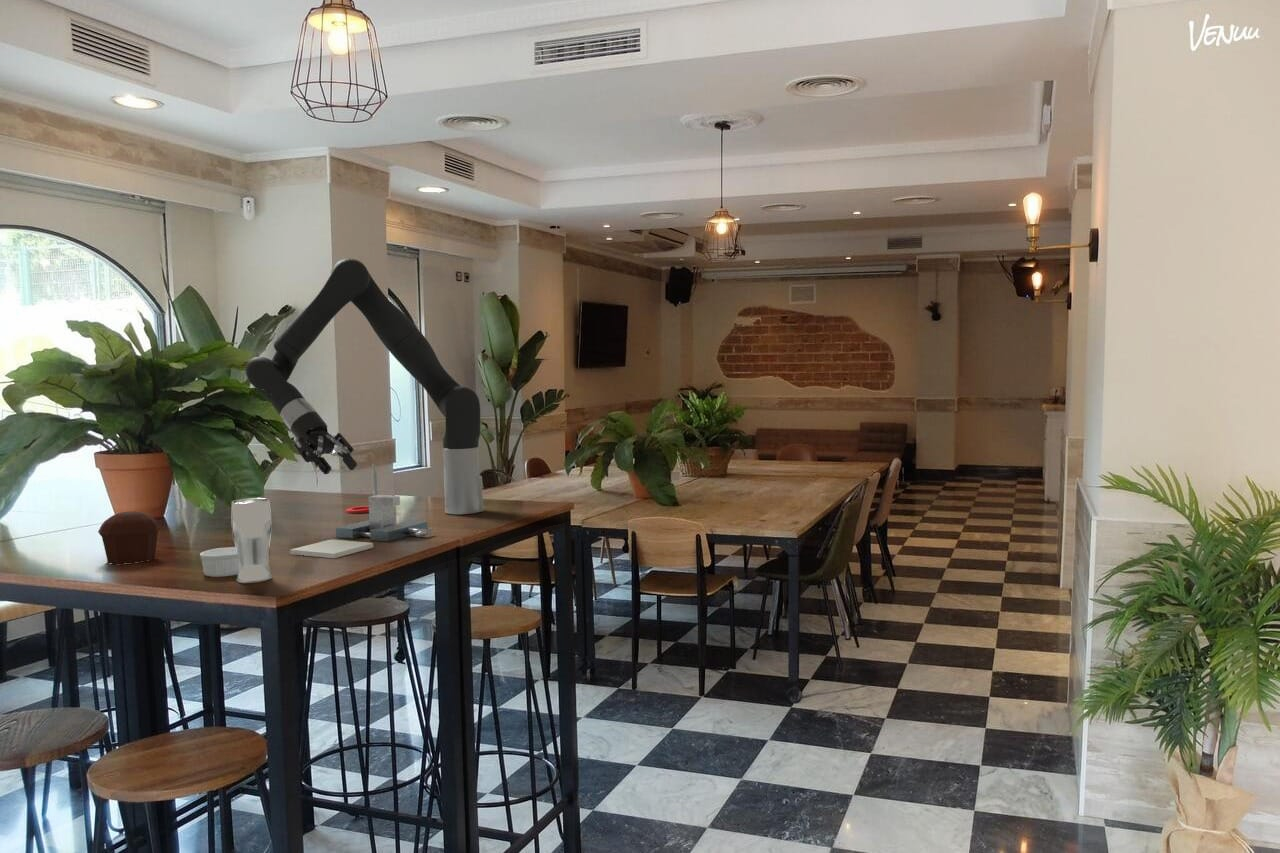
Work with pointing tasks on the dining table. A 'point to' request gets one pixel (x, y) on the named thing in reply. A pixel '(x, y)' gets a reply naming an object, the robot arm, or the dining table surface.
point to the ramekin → (220, 562)
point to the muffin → (129, 537)
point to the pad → (331, 548)
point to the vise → (384, 530)
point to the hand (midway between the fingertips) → (341, 469)
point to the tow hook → (375, 488)
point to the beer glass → (252, 538)
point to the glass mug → (382, 510)
